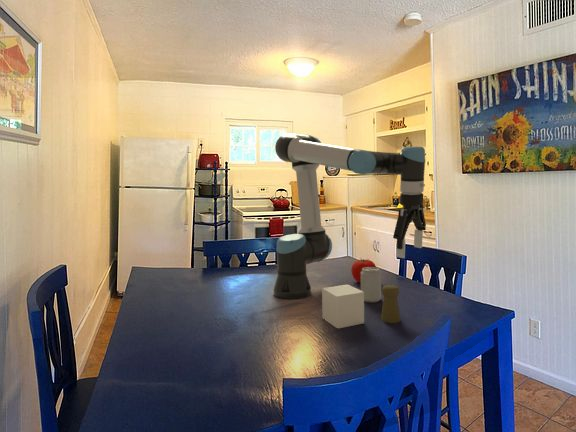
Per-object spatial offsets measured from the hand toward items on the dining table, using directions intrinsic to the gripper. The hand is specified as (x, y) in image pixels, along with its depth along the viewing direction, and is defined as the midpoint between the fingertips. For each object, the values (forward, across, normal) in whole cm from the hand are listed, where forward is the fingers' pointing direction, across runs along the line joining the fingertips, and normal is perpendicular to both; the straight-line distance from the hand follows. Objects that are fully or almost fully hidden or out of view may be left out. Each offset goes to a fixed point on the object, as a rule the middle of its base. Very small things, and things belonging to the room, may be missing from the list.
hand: (409, 252), depth 128 cm
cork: (+17, -19, -3) cm, 26 cm away
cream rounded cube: (+16, -30, +8) cm, 35 cm away
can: (+20, -6, +11) cm, 24 cm away
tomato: (+23, +13, +27) cm, 38 cm away
